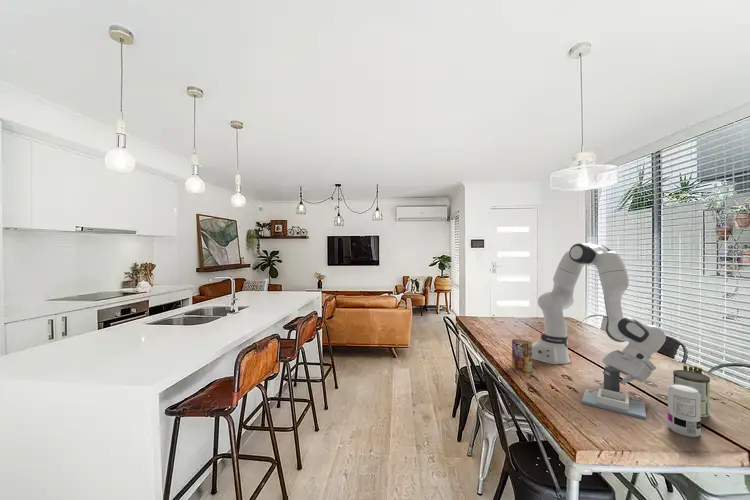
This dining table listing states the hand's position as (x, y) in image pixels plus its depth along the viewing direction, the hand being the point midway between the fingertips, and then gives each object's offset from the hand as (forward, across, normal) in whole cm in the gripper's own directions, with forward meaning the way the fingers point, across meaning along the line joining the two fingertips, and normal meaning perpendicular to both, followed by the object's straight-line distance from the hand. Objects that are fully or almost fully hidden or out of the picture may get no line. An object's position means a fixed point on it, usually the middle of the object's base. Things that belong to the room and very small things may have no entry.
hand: (612, 378), depth 142 cm
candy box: (+23, -27, -15) cm, 39 cm away
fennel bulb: (-20, +2, +29) cm, 35 cm away
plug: (+4, 0, +4) cm, 6 cm away
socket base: (+10, +11, -2) cm, 15 cm away
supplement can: (+4, +31, +4) cm, 32 cm away
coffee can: (-8, +17, +17) cm, 25 cm away
